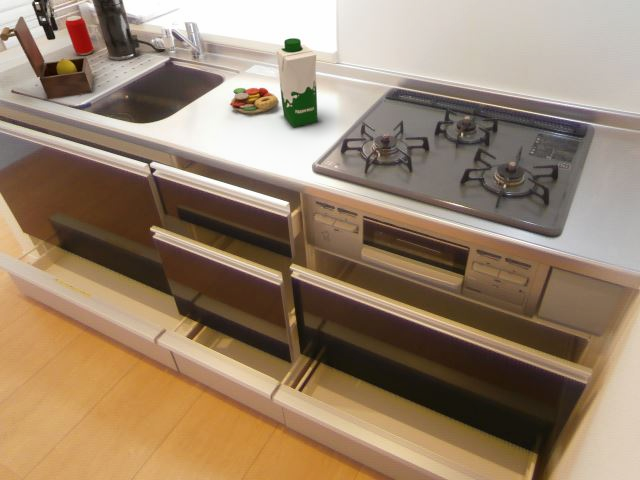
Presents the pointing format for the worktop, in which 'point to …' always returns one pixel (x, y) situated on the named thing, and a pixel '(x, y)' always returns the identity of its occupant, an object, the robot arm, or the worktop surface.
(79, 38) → the beverage can
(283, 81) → the soya milk
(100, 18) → the robot arm
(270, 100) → the toy food set
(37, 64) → the lid
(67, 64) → the lemon
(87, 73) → the chest
